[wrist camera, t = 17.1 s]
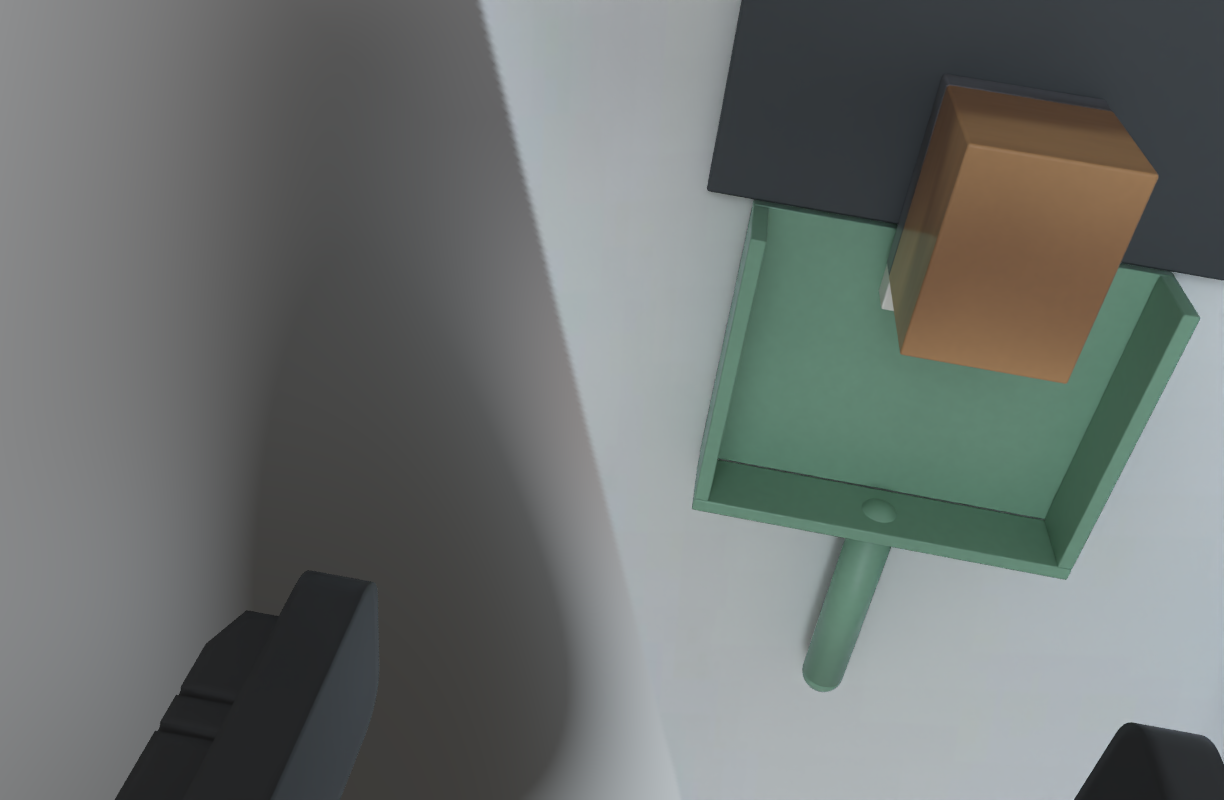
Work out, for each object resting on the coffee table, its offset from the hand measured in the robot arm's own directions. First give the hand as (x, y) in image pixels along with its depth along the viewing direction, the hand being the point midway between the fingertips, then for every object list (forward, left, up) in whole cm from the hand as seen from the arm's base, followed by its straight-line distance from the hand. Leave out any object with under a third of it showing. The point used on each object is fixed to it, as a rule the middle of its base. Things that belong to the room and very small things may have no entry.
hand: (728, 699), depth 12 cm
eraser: (+7, +3, -23) cm, 24 cm away
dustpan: (+14, -6, -24) cm, 28 cm away
